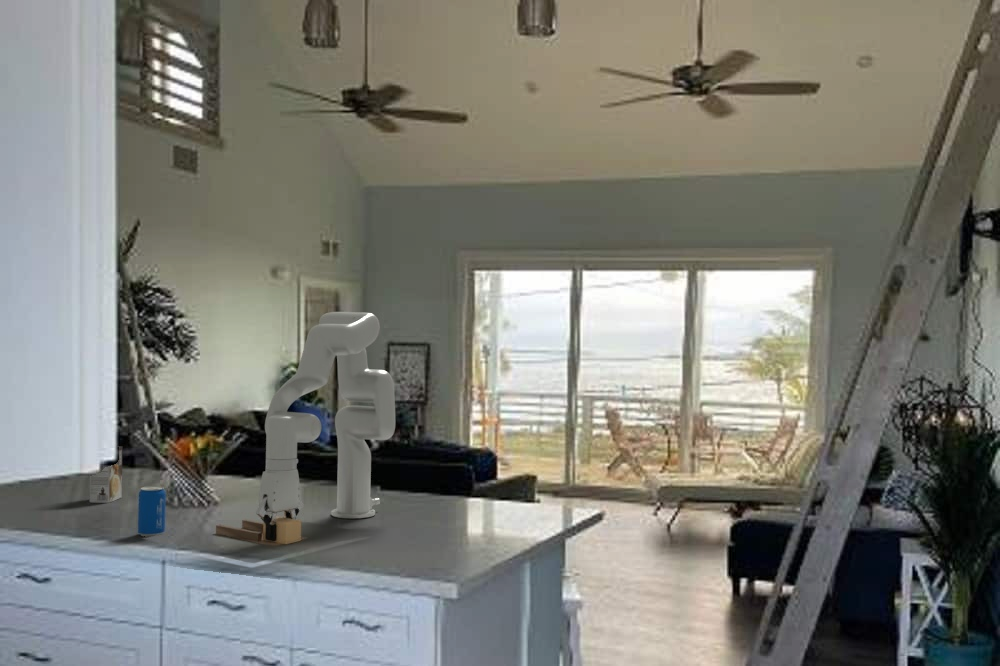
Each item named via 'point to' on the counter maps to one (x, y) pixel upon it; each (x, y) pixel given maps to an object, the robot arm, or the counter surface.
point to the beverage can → (151, 511)
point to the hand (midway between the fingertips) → (279, 537)
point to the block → (286, 530)
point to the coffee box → (107, 483)
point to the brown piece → (247, 532)
